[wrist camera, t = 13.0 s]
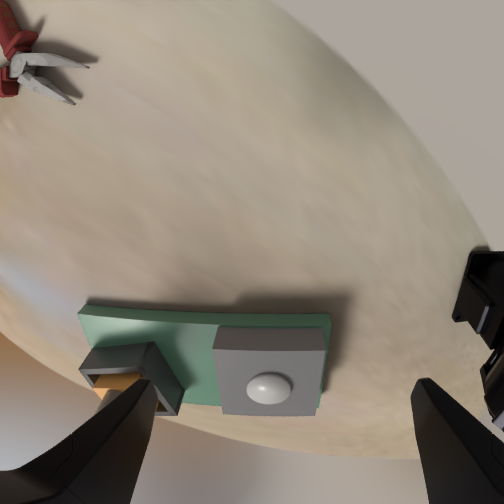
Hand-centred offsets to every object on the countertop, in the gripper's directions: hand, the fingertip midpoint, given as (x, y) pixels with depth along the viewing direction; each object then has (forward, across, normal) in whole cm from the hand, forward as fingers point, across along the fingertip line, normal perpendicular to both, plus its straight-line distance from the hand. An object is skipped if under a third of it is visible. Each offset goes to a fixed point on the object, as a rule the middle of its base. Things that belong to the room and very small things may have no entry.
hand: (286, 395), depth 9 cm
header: (+12, +13, +12) cm, 21 cm away
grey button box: (+12, +1, +10) cm, 15 cm away
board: (+13, +7, +11) cm, 18 cm away
